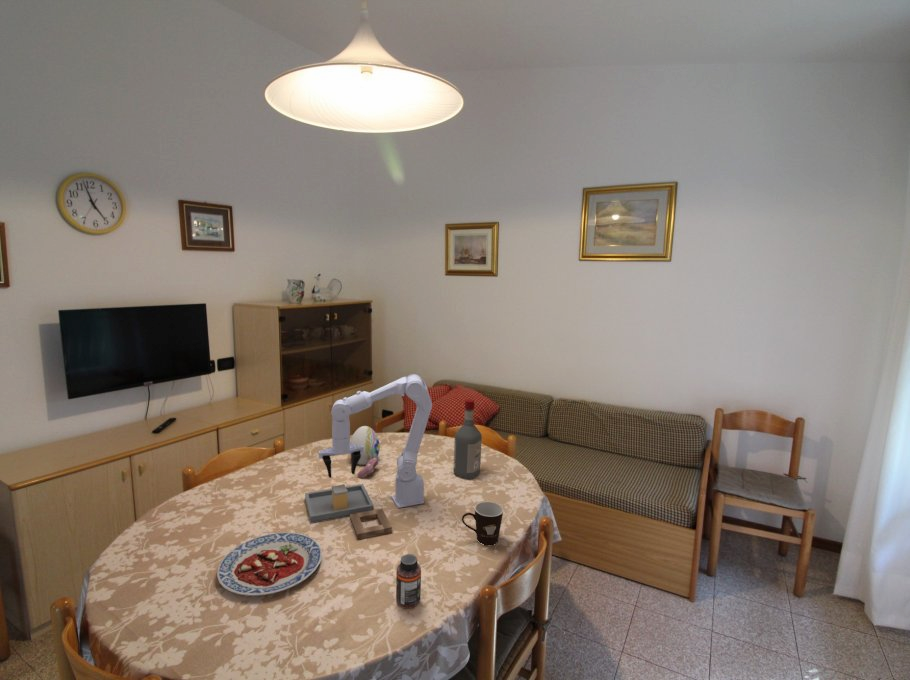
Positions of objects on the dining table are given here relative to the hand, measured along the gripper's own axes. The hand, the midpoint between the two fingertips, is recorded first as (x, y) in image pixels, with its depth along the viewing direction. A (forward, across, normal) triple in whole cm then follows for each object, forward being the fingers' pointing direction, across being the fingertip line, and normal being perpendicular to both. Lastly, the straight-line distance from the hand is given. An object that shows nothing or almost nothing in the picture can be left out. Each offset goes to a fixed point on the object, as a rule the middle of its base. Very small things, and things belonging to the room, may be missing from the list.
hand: (341, 474), depth 155 cm
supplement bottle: (+11, -6, +52) cm, 53 cm away
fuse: (+10, +1, +3) cm, 10 cm away
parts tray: (+10, +1, +1) cm, 10 cm away
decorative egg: (+11, -15, -31) cm, 36 cm away
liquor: (+11, -50, -6) cm, 51 cm away
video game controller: (+11, -14, -19) cm, 26 cm away
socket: (+10, -6, +17) cm, 21 cm away
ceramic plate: (+11, +23, +27) cm, 37 cm away
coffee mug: (+11, -36, +35) cm, 51 cm away
